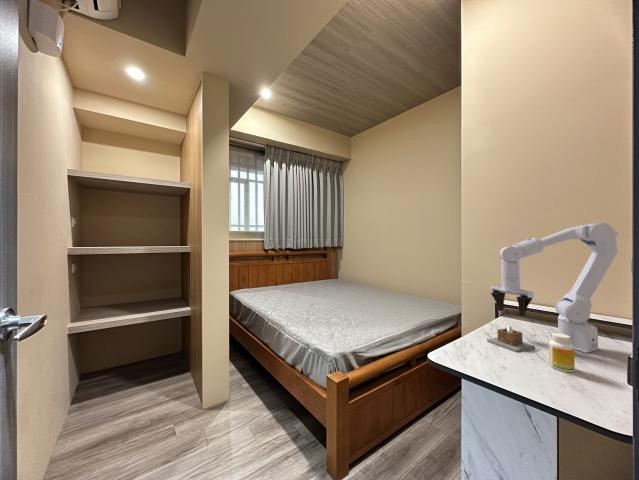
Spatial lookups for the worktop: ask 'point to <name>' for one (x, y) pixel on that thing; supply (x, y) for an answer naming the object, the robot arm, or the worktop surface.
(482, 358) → the worktop surface
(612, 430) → the worktop surface
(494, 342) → the peg base
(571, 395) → the worktop surface
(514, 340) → the square ring
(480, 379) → the worktop surface
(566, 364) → the supplement bottle
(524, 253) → the robot arm
